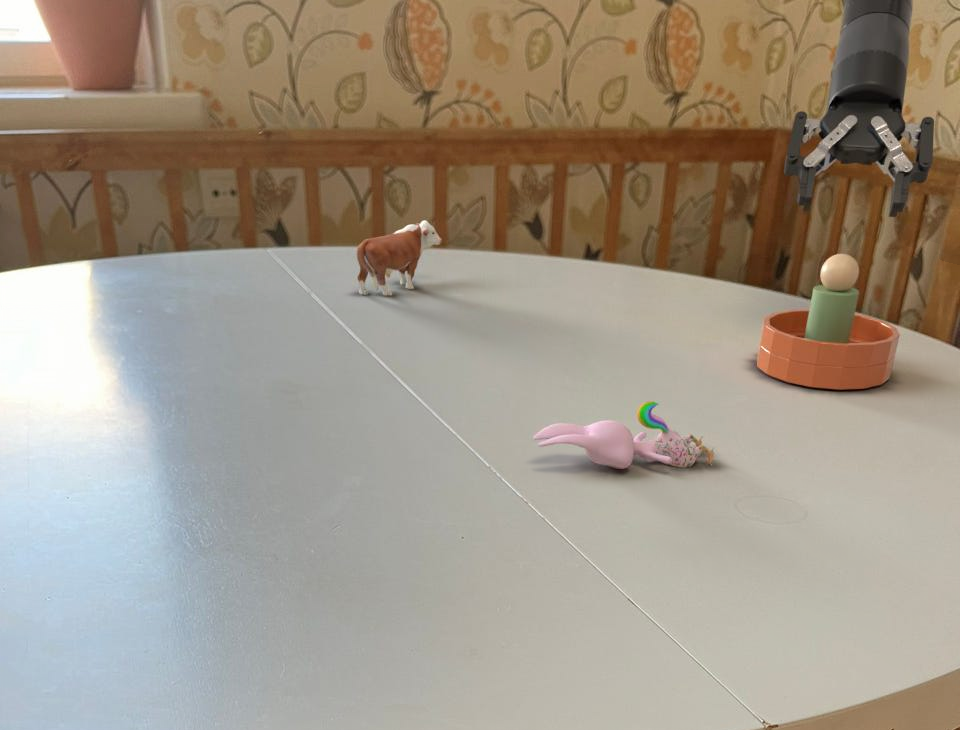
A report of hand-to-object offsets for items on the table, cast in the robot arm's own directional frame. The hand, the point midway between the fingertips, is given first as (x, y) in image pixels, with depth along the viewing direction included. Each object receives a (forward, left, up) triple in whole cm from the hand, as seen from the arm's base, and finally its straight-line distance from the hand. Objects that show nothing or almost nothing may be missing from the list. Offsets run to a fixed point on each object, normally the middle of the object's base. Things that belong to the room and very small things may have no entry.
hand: (850, 209), depth 106 cm
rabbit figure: (+31, +28, -15) cm, 45 cm away
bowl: (+3, +6, -15) cm, 17 cm away
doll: (+3, +6, -14) cm, 16 cm away
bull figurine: (+43, -33, -15) cm, 56 cm away
